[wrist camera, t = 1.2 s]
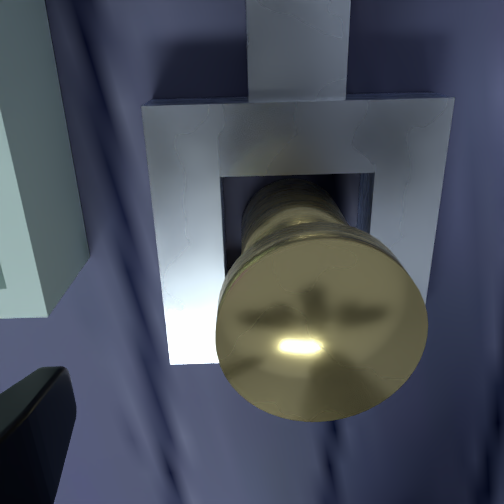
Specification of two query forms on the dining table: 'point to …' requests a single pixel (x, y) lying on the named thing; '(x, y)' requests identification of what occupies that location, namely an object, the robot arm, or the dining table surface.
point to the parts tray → (35, 170)
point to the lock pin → (315, 310)
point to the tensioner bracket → (287, 157)
